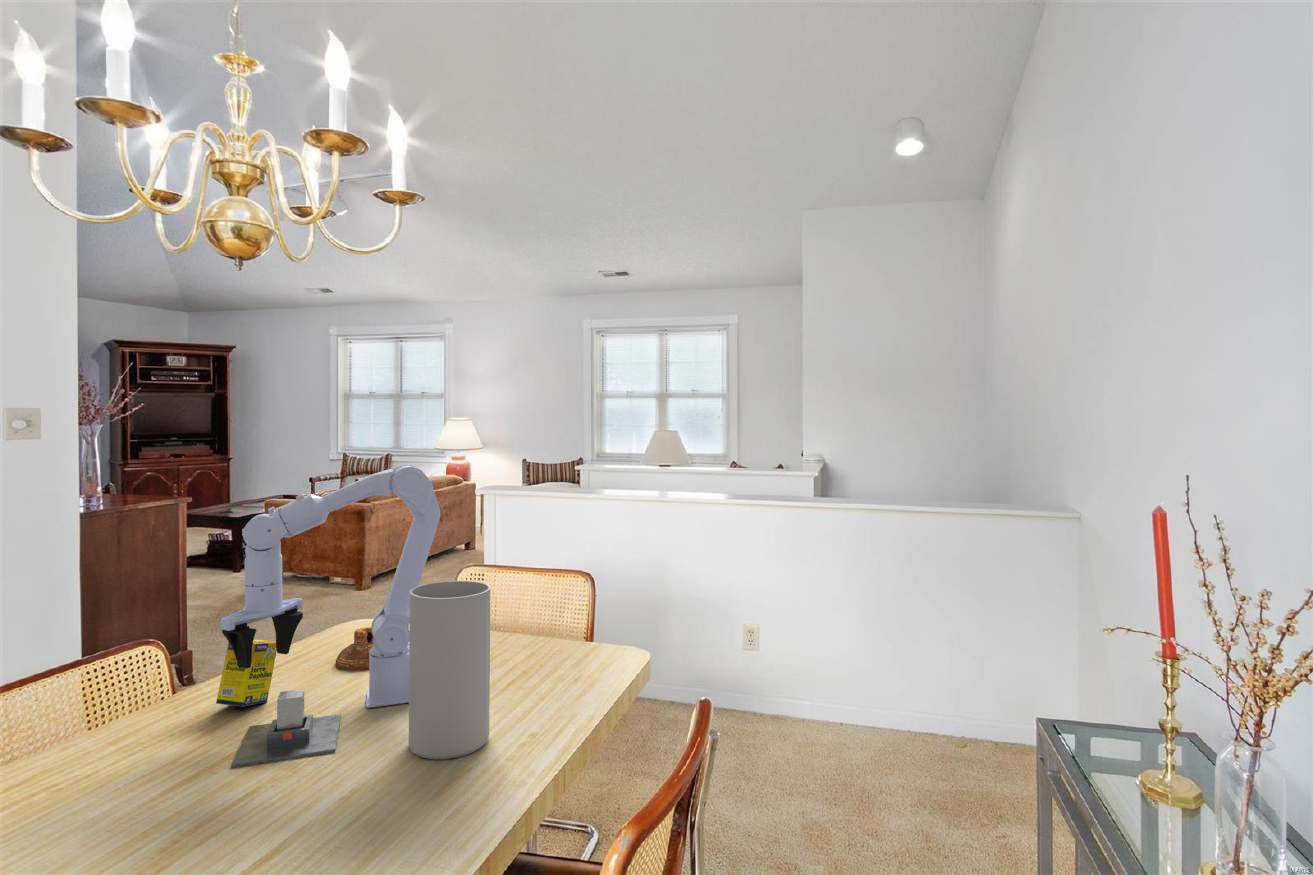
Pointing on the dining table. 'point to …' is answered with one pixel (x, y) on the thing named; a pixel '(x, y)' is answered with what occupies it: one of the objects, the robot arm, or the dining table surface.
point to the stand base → (288, 741)
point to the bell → (357, 651)
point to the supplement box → (247, 676)
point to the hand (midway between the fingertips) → (264, 660)
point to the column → (290, 710)
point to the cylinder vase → (449, 668)
